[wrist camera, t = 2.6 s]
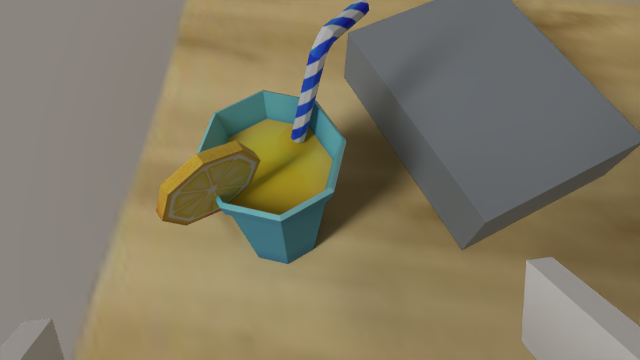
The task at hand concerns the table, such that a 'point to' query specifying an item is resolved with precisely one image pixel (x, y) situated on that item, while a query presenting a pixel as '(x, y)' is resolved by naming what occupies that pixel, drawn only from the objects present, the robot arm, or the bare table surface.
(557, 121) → the slate block
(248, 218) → the cup
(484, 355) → the table surface
